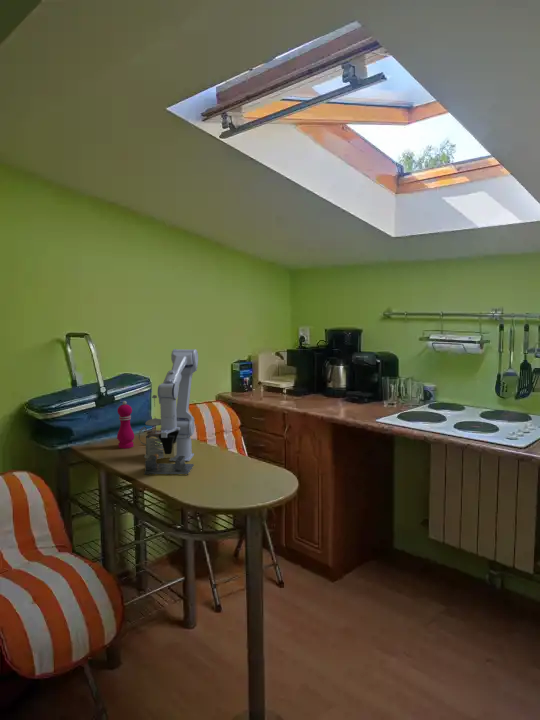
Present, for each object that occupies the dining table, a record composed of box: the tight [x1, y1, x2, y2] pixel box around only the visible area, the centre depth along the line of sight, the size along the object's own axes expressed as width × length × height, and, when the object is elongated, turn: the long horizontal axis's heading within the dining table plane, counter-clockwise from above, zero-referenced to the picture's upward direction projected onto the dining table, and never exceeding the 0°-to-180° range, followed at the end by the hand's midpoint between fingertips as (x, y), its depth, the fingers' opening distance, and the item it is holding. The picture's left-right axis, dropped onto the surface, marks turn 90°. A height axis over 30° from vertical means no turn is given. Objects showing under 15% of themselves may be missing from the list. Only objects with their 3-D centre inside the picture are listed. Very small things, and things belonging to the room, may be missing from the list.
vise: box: [143, 456, 195, 476], centre depth 197 cm, size 10×16×4 cm, turn 86°
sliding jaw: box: [144, 454, 159, 470], centre depth 200 cm, size 12×2×4 cm, turn 176°
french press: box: [137, 394, 164, 460], centre depth 214 cm, size 10×12×25 cm
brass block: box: [162, 442, 177, 459], centre depth 196 cm, size 4×4×5 cm
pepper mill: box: [116, 400, 135, 450], centre depth 229 cm, size 7×7×20 cm
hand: (169, 452), depth 196 cm, fingers closed on brass block, 4 cm apart
